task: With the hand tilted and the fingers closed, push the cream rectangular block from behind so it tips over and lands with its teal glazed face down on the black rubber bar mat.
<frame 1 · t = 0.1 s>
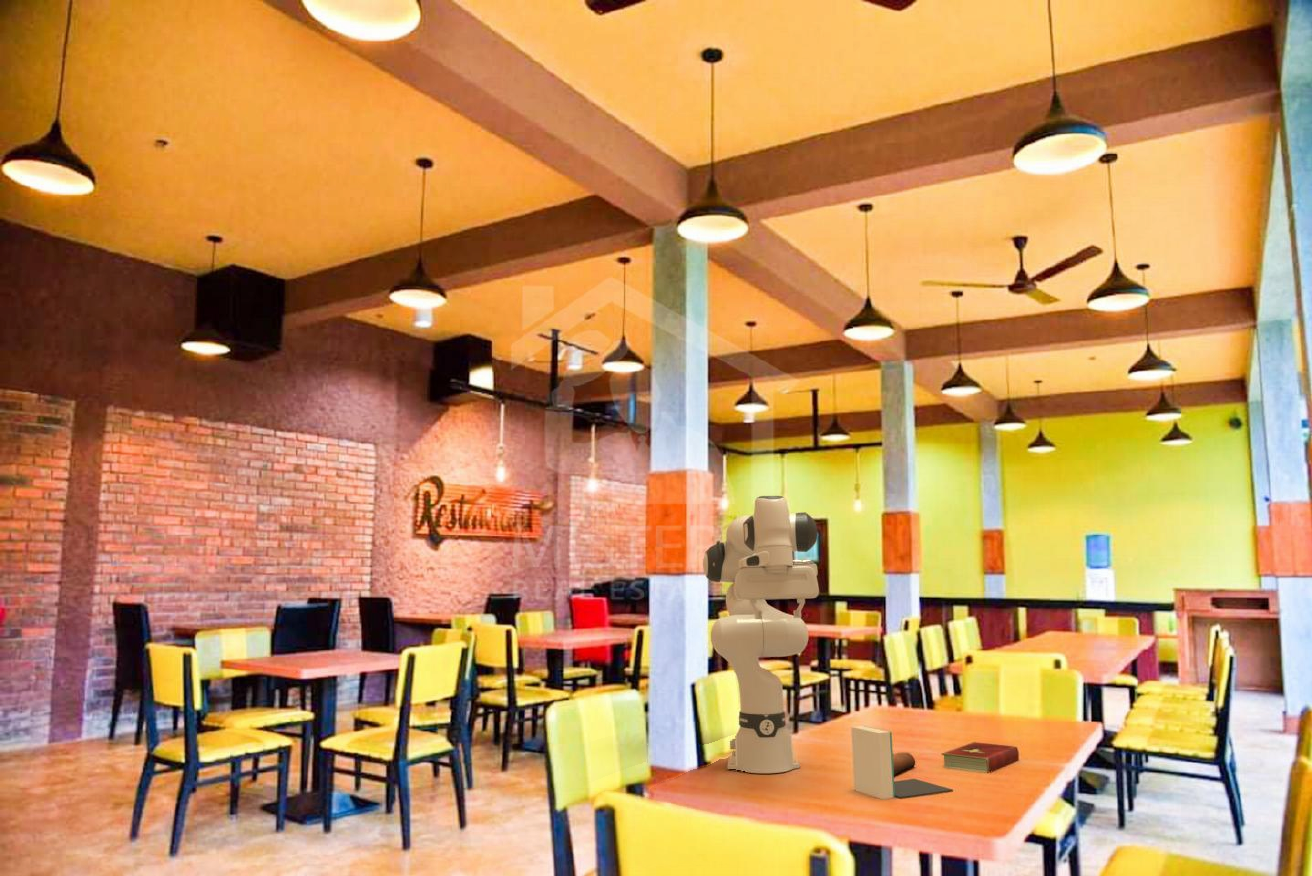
hand: (778, 618, 216), 39 cm above the table, tool pointing down, fingers open, 8 cm apart
hardcover book: (981, 766, 235), on the table
bar mat: (907, 789, 207), on the table
sweet potato: (887, 774, 227), on the table
cream rectangular block: (874, 794, 203), on the table
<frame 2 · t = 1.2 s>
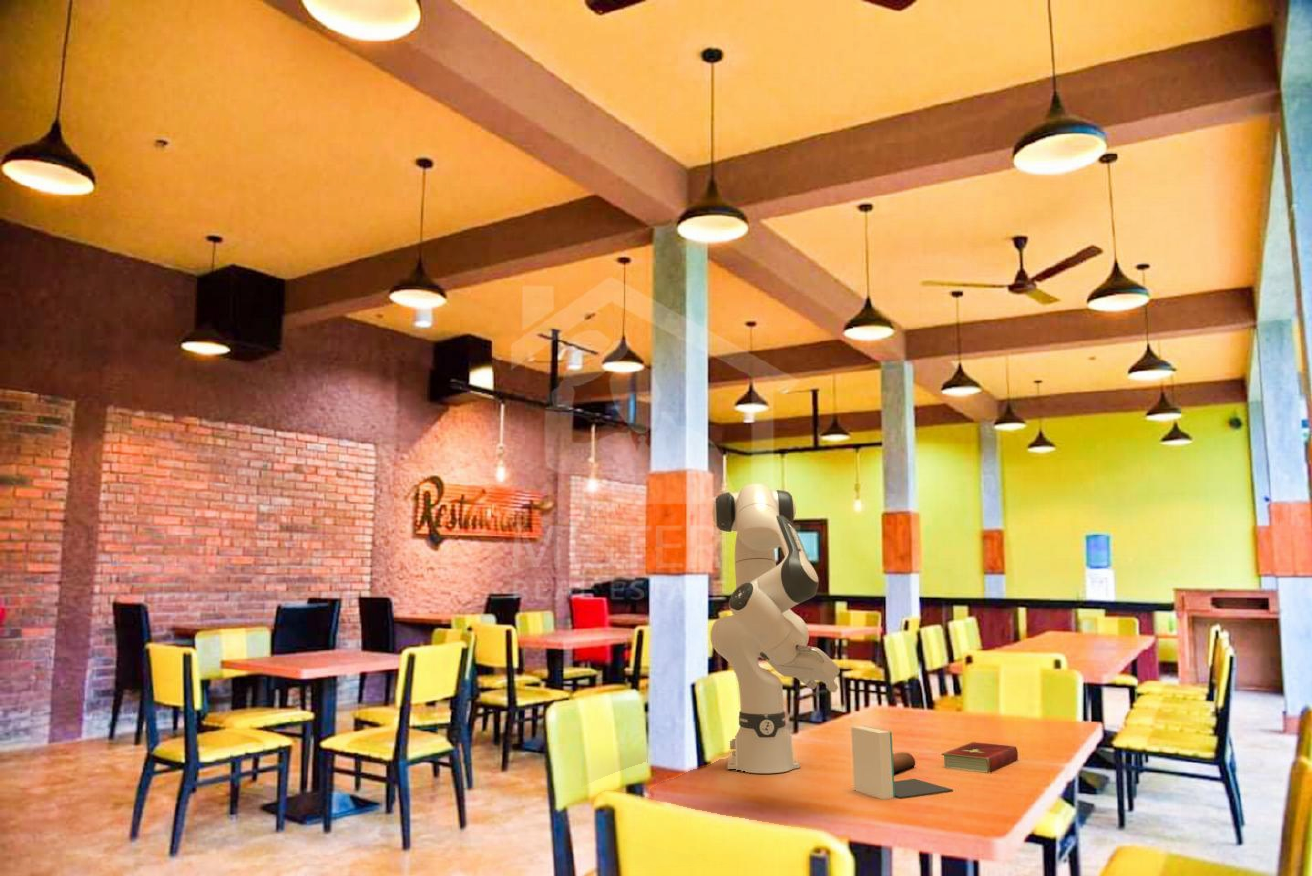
hand: (824, 688, 202), 24 cm above the table, tool tilted 45°, fingers open, 6 cm apart
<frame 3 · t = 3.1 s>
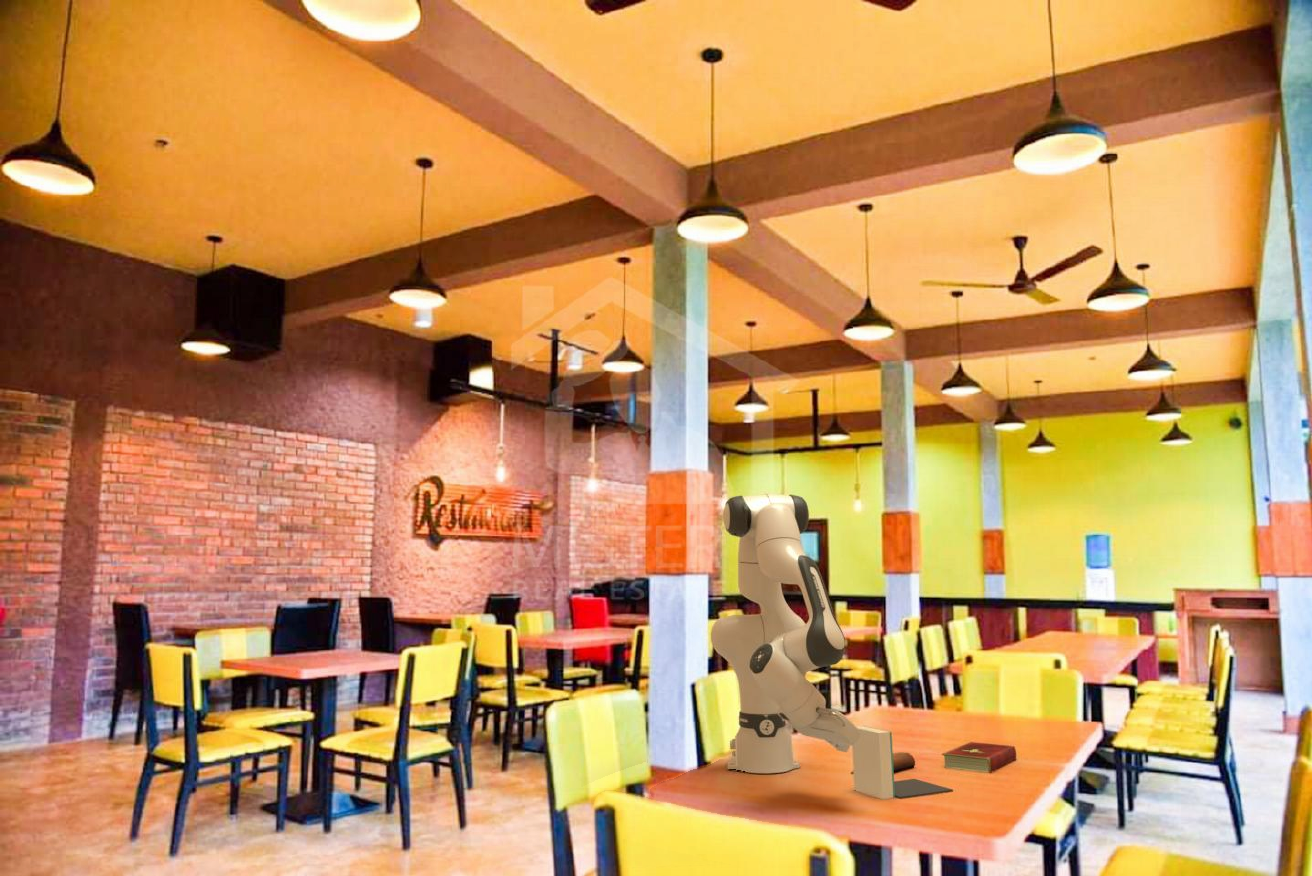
hand: (844, 749, 201), 10 cm above the table, tool tilted 45°, fingers closed
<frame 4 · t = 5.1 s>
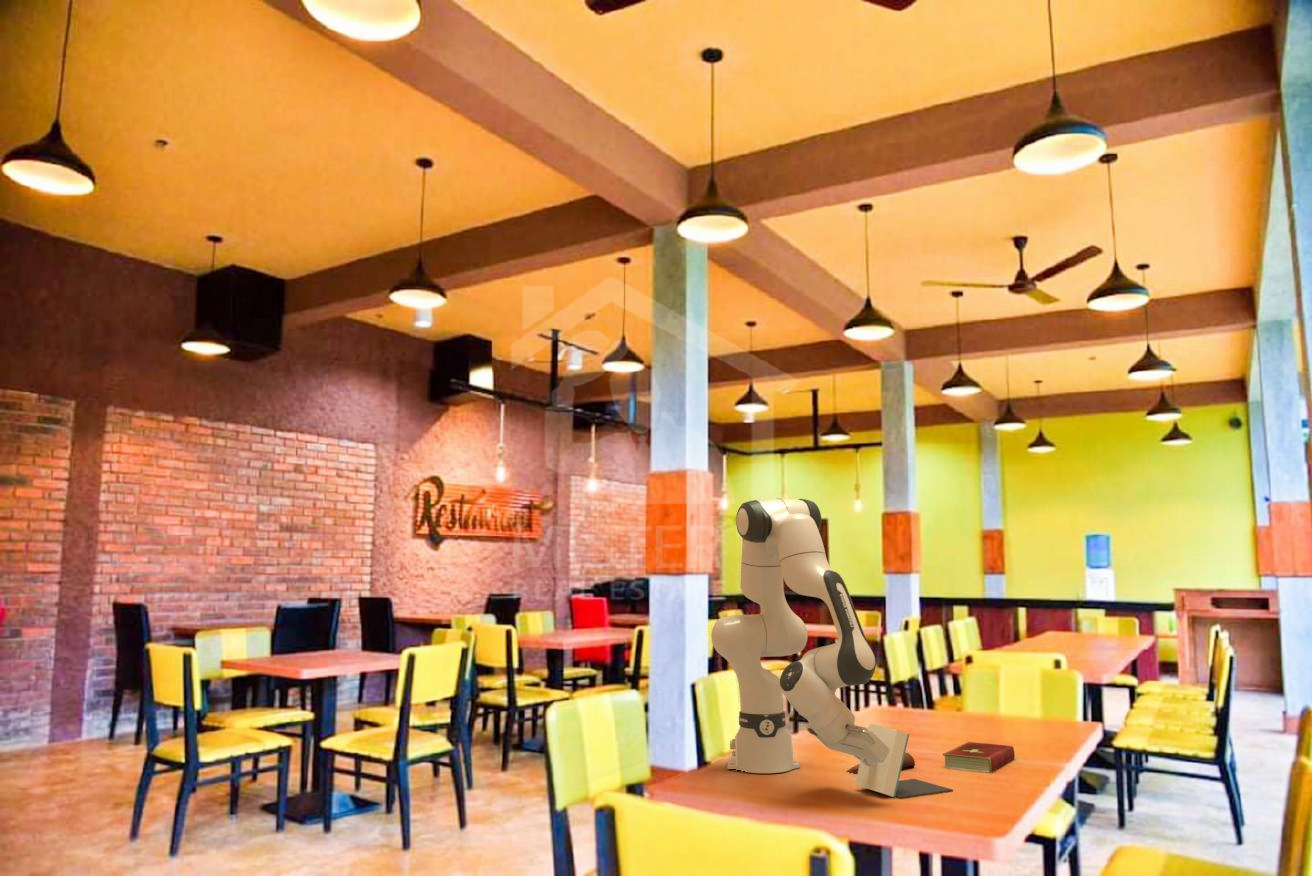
hand: (872, 764, 204), 6 cm above the table, tool tilted 45°, fingers closed
cream rectangular block: (874, 791, 203), point 1 cm above the table, tilted 21°
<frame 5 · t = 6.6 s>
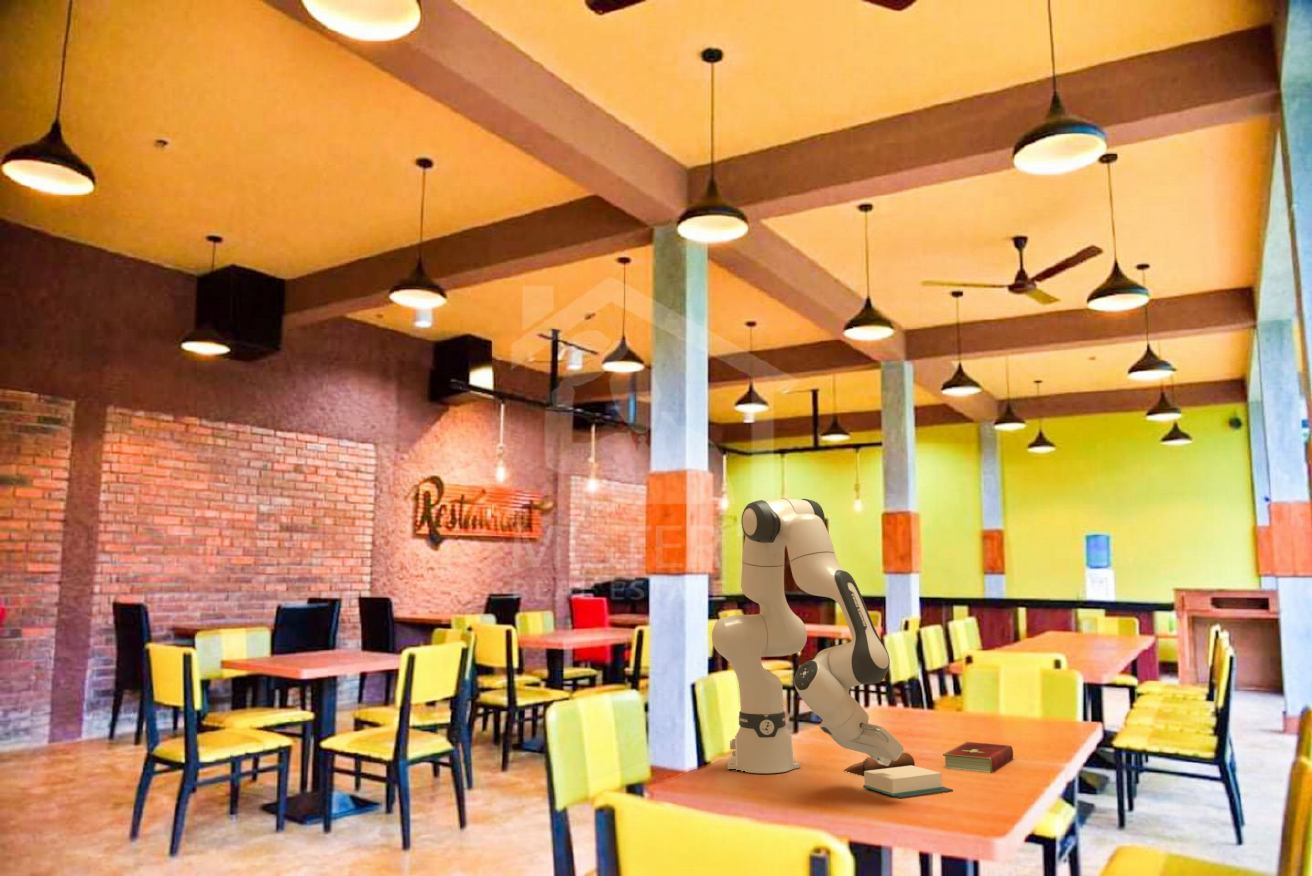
hand: (885, 762, 206), 6 cm above the table, tool tilted 45°, fingers closed
cream rectangular block: (878, 783, 204), point 2 cm above the table, tilted 90°, touching bar mat
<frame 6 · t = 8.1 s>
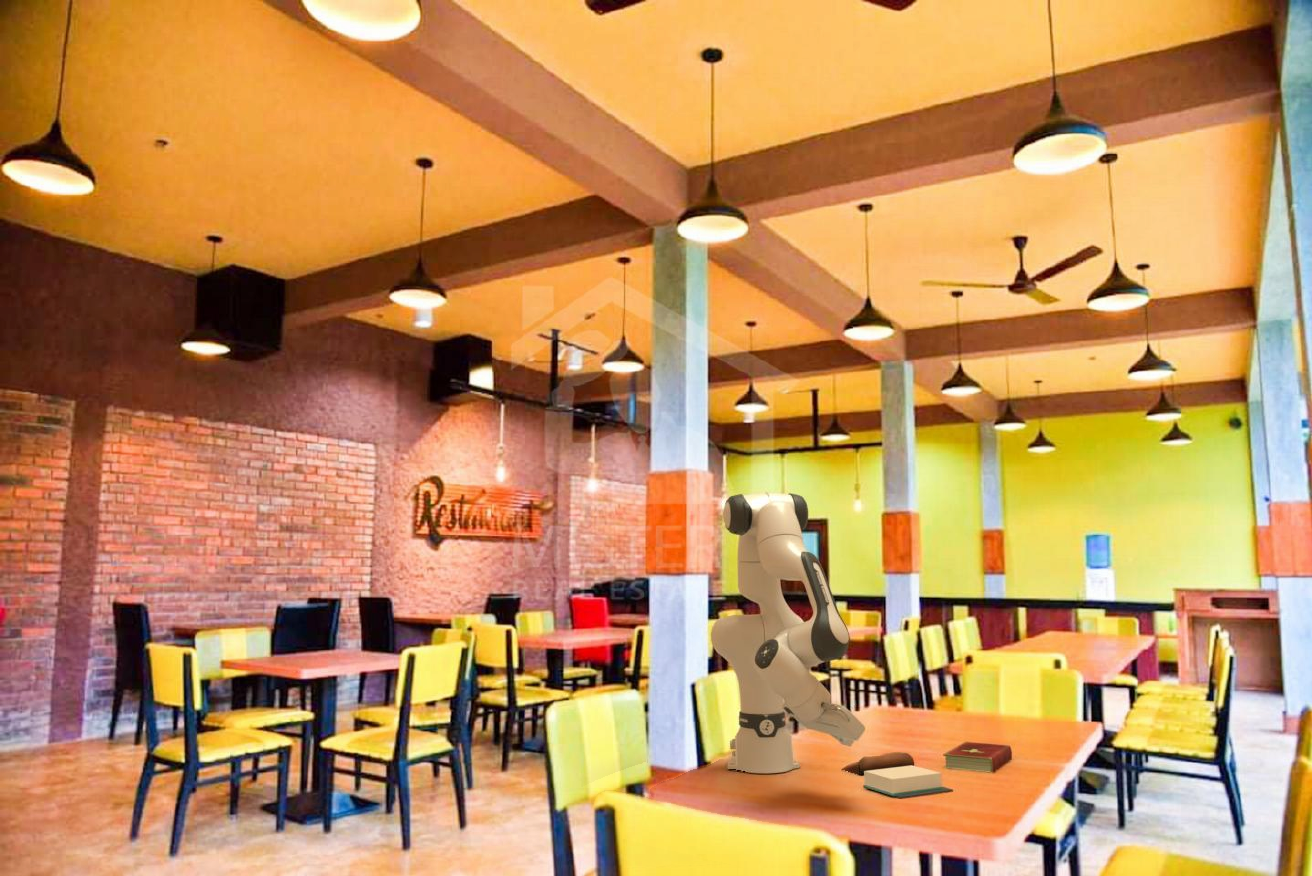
hand: (848, 743, 202), 11 cm above the table, tool tilted 45°, fingers closed
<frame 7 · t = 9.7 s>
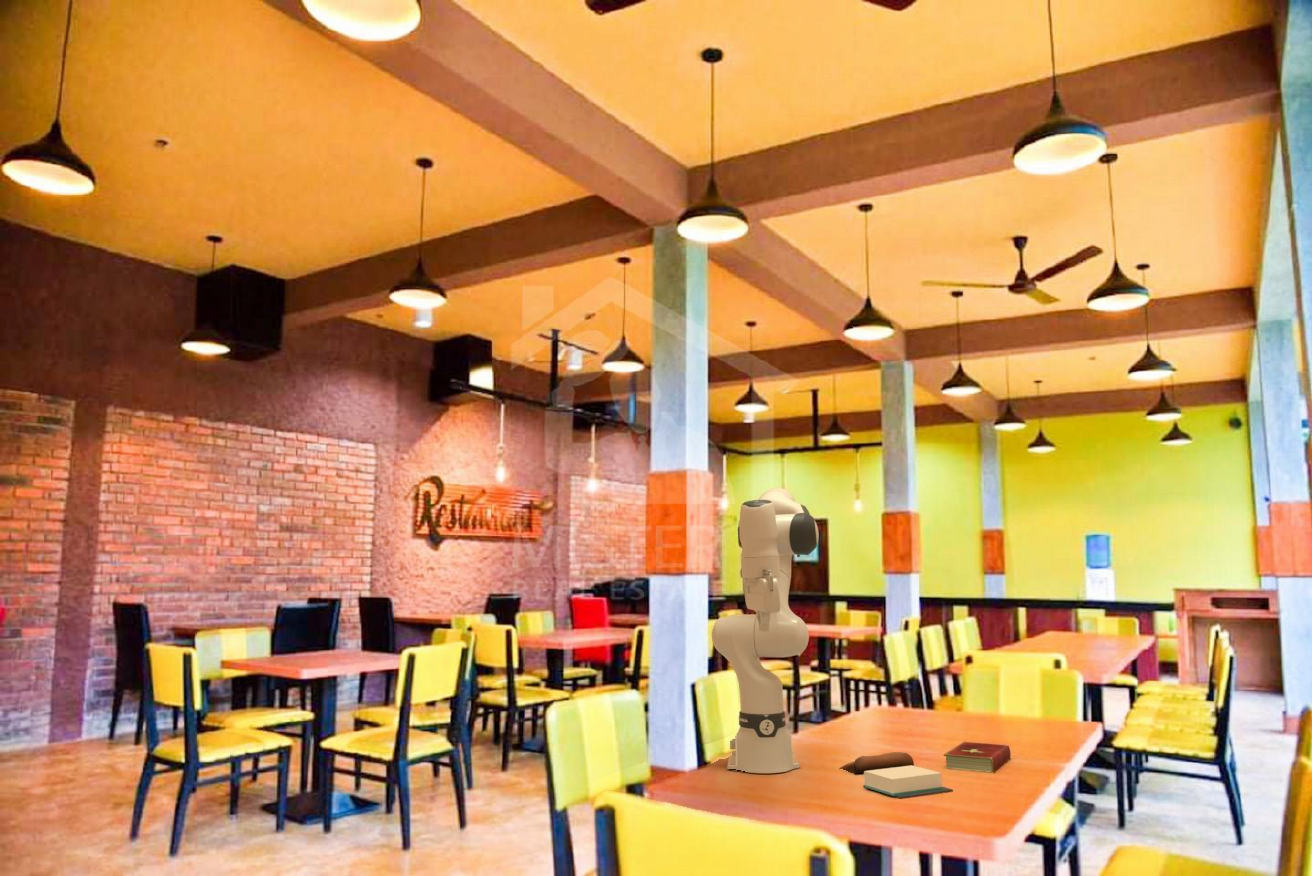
hand: (764, 631, 206), 36 cm above the table, tool pointing down, fingers closed
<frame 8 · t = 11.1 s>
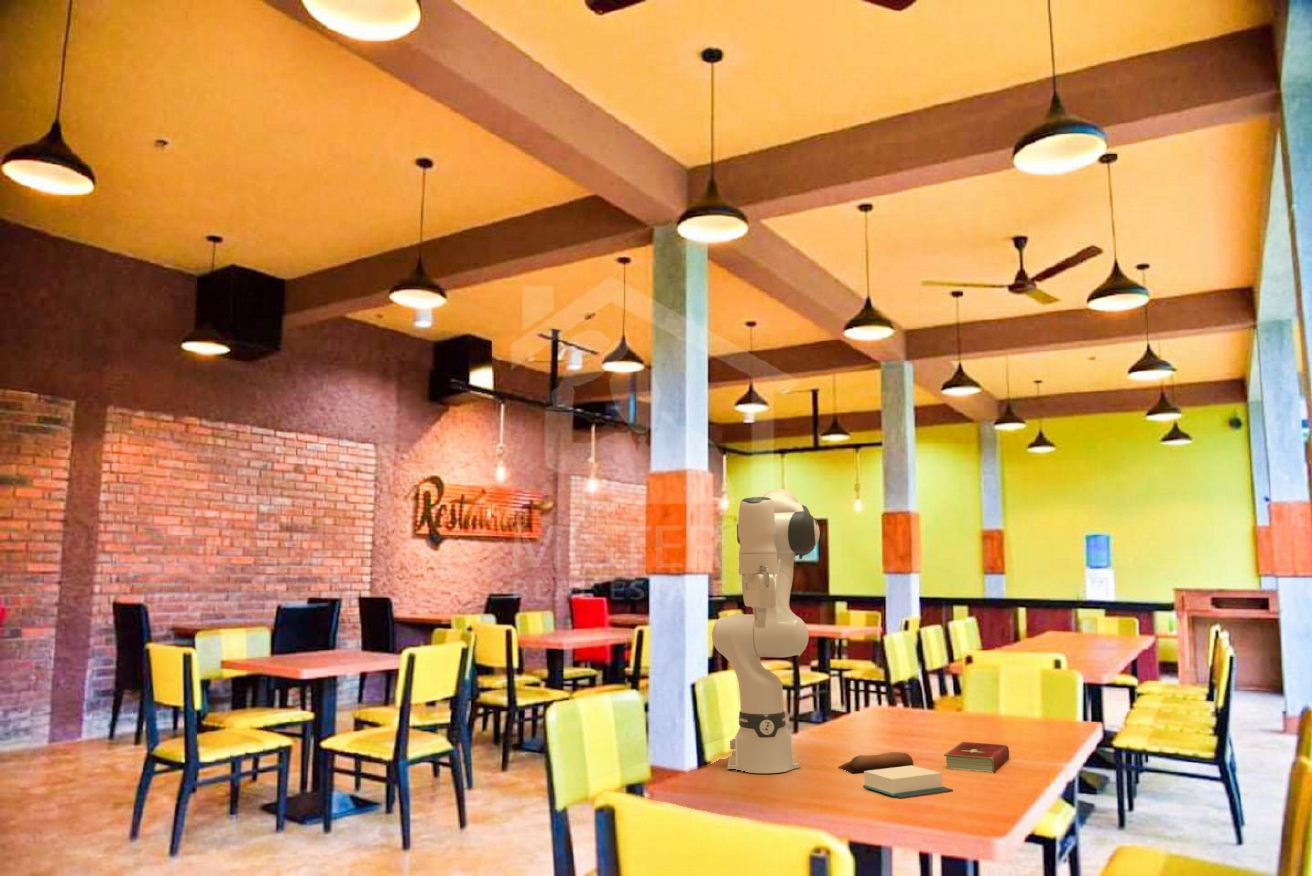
hand: (760, 627, 206), 37 cm above the table, tool pointing down, fingers closed
at the end: cream rectangular block tilted 90°; cream rectangular block touching bar mat; cream rectangular block 8.3 cm from the bar mat (horizontally) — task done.
